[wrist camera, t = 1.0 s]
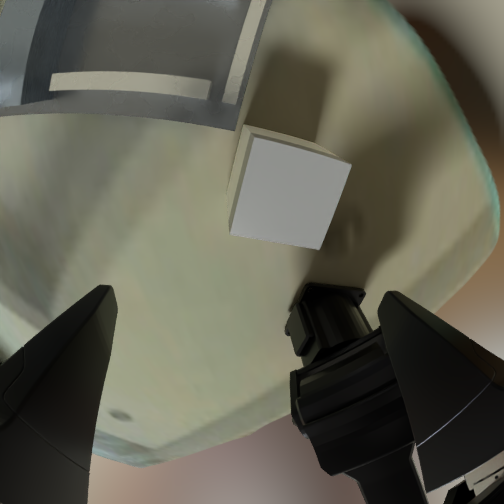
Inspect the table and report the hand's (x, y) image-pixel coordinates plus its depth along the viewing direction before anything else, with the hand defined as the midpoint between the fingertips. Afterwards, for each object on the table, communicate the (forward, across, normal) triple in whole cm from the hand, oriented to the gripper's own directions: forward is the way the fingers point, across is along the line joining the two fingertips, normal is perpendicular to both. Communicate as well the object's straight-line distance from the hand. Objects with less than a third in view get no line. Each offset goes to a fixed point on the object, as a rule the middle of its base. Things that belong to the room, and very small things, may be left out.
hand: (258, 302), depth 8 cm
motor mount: (+12, +9, -11) cm, 18 cm away
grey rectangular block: (+12, -2, -1) cm, 12 cm away
